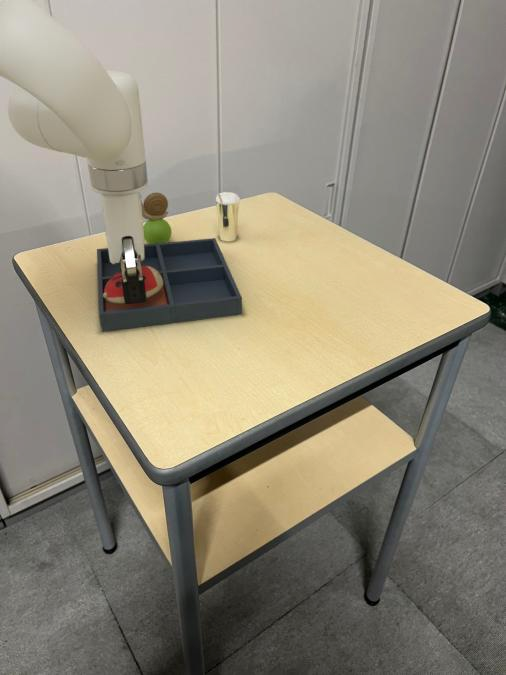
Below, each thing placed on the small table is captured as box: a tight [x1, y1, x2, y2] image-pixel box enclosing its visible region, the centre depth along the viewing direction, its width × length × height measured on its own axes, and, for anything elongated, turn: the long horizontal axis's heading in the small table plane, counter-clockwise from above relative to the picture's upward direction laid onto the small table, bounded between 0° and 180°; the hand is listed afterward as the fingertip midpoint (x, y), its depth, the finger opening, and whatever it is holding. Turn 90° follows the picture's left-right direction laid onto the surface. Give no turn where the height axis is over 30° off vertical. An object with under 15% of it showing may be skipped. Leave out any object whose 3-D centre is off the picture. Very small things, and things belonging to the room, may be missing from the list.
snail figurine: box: [140, 192, 173, 244], centre depth 96 cm, size 5×6×12 cm
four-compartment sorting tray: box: [96, 237, 243, 333], centre depth 86 cm, size 21×21×3 cm
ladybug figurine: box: [103, 266, 163, 304], centre depth 79 cm, size 7×10×4 cm
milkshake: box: [215, 191, 241, 243], centre depth 99 cm, size 4×5×10 cm
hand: (133, 287), depth 80 cm, fingers closed on ladybug figurine, 7 cm apart
